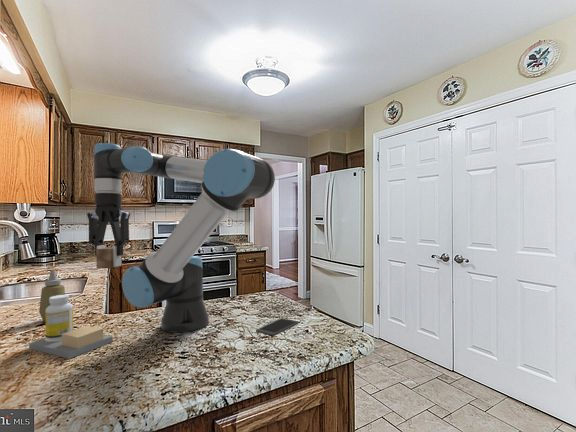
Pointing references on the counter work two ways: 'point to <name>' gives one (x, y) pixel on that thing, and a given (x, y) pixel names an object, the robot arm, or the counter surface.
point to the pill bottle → (58, 317)
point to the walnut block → (105, 258)
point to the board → (65, 349)
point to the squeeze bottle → (50, 292)
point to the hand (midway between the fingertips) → (109, 265)
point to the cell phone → (277, 326)
